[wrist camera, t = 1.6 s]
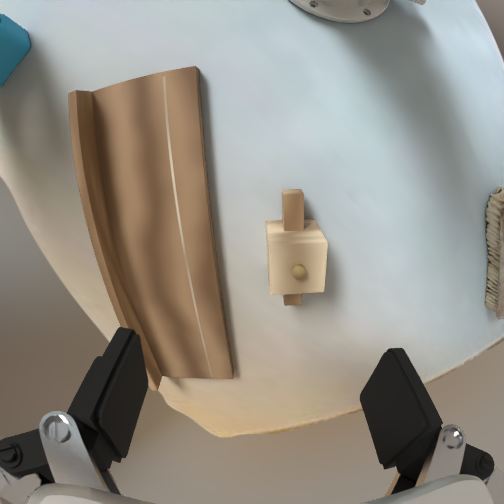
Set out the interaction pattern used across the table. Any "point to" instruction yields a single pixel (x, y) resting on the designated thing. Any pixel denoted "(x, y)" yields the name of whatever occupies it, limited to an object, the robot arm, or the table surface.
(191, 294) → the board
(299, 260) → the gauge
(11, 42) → the block
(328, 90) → the table surface
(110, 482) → the robot arm
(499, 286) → the beige mottled oblong part
